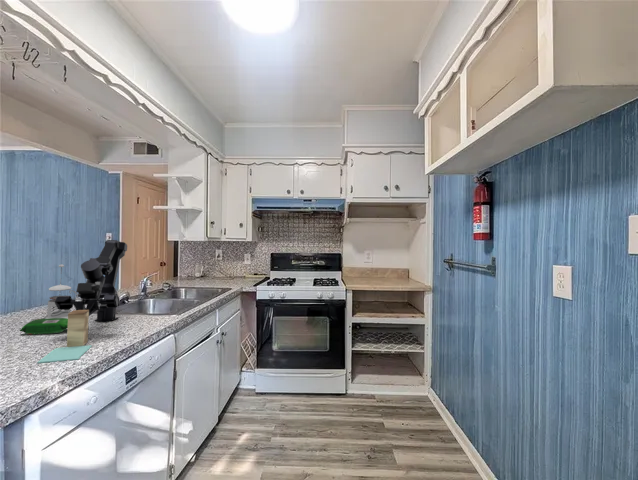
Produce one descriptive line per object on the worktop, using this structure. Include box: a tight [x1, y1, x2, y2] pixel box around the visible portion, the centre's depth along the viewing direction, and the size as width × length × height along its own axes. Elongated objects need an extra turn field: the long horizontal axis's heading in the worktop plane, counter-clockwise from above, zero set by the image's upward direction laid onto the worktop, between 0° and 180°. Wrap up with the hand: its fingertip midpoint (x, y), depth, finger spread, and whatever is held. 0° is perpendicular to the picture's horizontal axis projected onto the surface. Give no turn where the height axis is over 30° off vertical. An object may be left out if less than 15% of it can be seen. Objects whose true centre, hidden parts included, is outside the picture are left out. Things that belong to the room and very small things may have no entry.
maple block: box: [66, 309, 90, 347], centre depth 101 cm, size 4×4×12 cm
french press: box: [44, 264, 79, 319], centre depth 133 cm, size 10×12×25 cm
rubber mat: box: [36, 344, 93, 364], centre depth 93 cm, size 12×10×1 cm
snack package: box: [19, 318, 68, 335], centre depth 113 cm, size 7×16×5 cm, turn 107°
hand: (81, 321), depth 103 cm, fingers closed
